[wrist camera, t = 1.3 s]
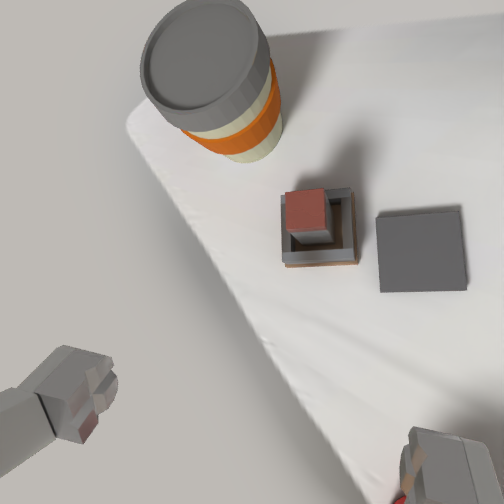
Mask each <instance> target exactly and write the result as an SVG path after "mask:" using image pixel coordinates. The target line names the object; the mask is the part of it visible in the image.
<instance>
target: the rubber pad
mask: <svg viewBox="0 0 504 504" xmlns="http://www.w3.org/2000/svg"><path fill="white" fill-rule="evenodd" d="M376 233H377V249H378V264H379V279H380V293H382V292H426V291H465V290H467V284H466V275H465V265H464V256H463V247H462V237H461V228H460V218H459V211H453V212H441V213H429V214H417V215H405V216H393V217H381V218H376Z"/></svg>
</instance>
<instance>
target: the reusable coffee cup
mask: <svg viewBox="0 0 504 504" xmlns="http://www.w3.org/2000/svg"><path fill="white" fill-rule="evenodd" d="M140 78H141V83H142V87H143V89H144V91H145V93H146V96H147V97H148V98H149V99H150V101H151V102H152V103H153V104H154V106H155V107H156V108H157V109H158V111H159V112H160V113H161V114H162V115H163V117H164V118H165V119H166V120H167V121H168V122H169V123H171V124H172V125H173V126H175V127H177V128H179V129H181V131H182V132H183V133H185V134H186V135H187V136H189V137H190V138H191V139H193V140H195V141H196V142H198V143H199V144H201V145H202V146H204V147H205V148H207V149H209V150H210V151H213V152H215V153H218V154H223V155H224V156H226V157H227V158H229V159H230V160H232V161H235V162H238V163H251V162H256V161H258V160H260V159H262V158H264V157H265V156H267V155H268V154H269V153H270V152H271V151H272V150H273V149H274V148H275V146H276V145H277V143H278V141H279V139H280V137H281V133H282V126H283V125H282V117H281V113H280V106H281V99H280V91H279V87H278V82H277V77H276V72H275V68H274V65H273V62H272V59H271V57H270V50H269V45H268V42H267V39H266V37H265V35H264V33H263V32H262V30H261V28H260V26H259V24H258V23H257V21H256V20H255V18H254V16H253V14H252V13H251V11H250V10H249V8H248V7H247V6H246V5H244V4H243V3H242V2H241V1H240V0H187V1H185V2H183V3H181V4H180V5H178V6H176V7H175V8H174V9H172V10H171V11H170V12H169V13H167V14H166V15H165V16H164V17H163V19H162V20H161V21H160V22H159V23H158V24H157V26H156V27H155V28H154V30H153V31H152V32H151V34H150V36H149V38H148V40H147V42H146V44H145V47H144V50H143V53H142V57H141V63H140Z"/></svg>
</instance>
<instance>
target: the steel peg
mask: <svg viewBox="0 0 504 504" xmlns="http://www.w3.org/2000/svg"><path fill="white" fill-rule="evenodd" d="M285 207H286V230H287V231H288V232H289V233H290V234H291V235H293V236H294V237H295V238H296V239H297V240H298V241H299V242H300V243H301V244H302V245H303V246H316V245H332V244H335V226H334V213H333V210H332V208H331V205H330V203H329V200H328V198H327V196H326V193H325V191H324V188H320V189H311V190H302V191H293V192H285Z"/></svg>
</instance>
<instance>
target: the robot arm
mask: <svg viewBox="0 0 504 504" xmlns="http://www.w3.org/2000/svg"><path fill="white" fill-rule="evenodd" d="M113 366H114V363H113V360H112V357H109V356H105V355H101V354H97V353H94V352H89V351H86V350H81V349H78V348H74V347H70V346H66V345H62V346H60V347H58V348H56V349H55V350H54V351H53V352H52V353H51V354H50V355H49V356H48V357H47V358H46V359H45V360H44V361H43V363H41V364H40V365H39V366H38V367H37V368H36V369H35V370H34V371H33V372H32V373H31V374H30V375H29V376H28V377H27V378H26V379H25V380H24V381H23V382H22V383H21V384H20V385H19V386H18V387H17V388H12V387H11V388H9V389H7V390H5V391H3V392H0V478H1V477H3V476H4V475H5V474H7V473H8V472H10V471H11V470H12V469H14V468H16V467H17V466H18V465H20V464H21V463H23V462H24V461H25V460H27V459H28V458H30V457H31V456H33V455H34V454H36V453H37V452H39V451H40V450H41V449H43V448H44V447H46V446H47V445H49V444H50V443H52V442H53V441H54V440H56V438H60V439H64V440H68V441H72V442H75V443H79V444H84V443H85V441H86V440H87V438H88V437H89V436H90V434H91V433H92V431H93V430H94V428H95V427H96V425H97V424H98V415H99V414H100V413H102V412H104V411H105V410H107V409H108V408H109V407H110V405H111V404H112V402H113V401H114V399H115V396H116V393H117V391H118V379H117V376H116V375H115V374H114V373H113V371H112V370H111V369H112V368H113ZM55 437H56V438H55ZM408 437H409V444H408V445H406V446H404V448H403V451H402V454H401V459H400V487H401V489H402V491H403V492H404V494H405V495H406V500H405V502H404V504H504V498H503V495H502V492H501V489H500V486H499V483H498V479H497V476H496V473H495V470H494V467H493V464H492V460H491V457H490V454H489V451H488V448H487V446H486V445H485V444H484V443H483V442H480V441H475V440H471V439H466V438H461V437H458V436H456V435H451V434H446V433H442V432H437V431H433V430H428V429H423V428H419V427H412V428H411V430H410V432H409V435H408Z"/></svg>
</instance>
